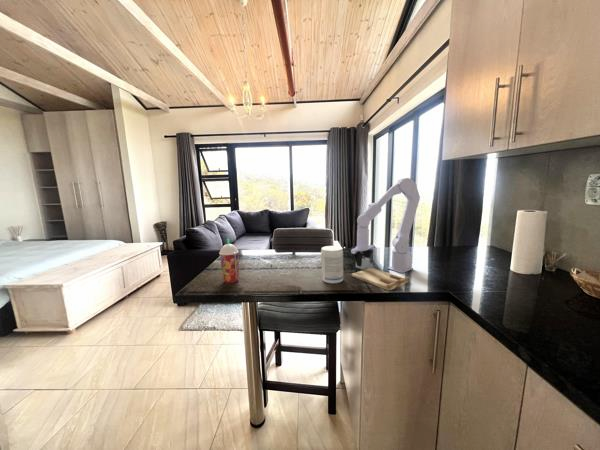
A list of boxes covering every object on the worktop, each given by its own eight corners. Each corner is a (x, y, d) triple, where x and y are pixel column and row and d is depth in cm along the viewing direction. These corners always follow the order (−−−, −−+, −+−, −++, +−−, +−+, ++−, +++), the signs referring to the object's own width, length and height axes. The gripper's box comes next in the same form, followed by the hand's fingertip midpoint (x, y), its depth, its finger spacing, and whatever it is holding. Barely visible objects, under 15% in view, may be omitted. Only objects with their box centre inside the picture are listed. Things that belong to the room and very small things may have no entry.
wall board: (371, 269, 119) (371, 265, 119) (409, 282, 103) (409, 277, 102) (351, 276, 112) (351, 271, 111) (388, 290, 95) (388, 285, 95)
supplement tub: (347, 280, 106) (348, 248, 104) (331, 286, 101) (331, 252, 99) (333, 274, 114) (333, 244, 112) (317, 279, 109) (316, 247, 107)
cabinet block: (361, 265, 126) (361, 254, 125) (369, 268, 122) (369, 256, 121) (355, 267, 124) (355, 256, 123) (363, 269, 119) (363, 258, 119)
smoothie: (244, 278, 111) (241, 236, 108) (232, 285, 104) (229, 240, 101) (230, 276, 115) (227, 235, 112) (217, 283, 108) (213, 239, 104)
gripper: (366, 235, 128) (365, 260, 130) (346, 239, 120) (346, 265, 122) (377, 237, 122) (376, 263, 124) (357, 242, 114) (357, 269, 116)
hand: (362, 264), depth 123 cm, fingers closed on cabinet block, 4 cm apart
